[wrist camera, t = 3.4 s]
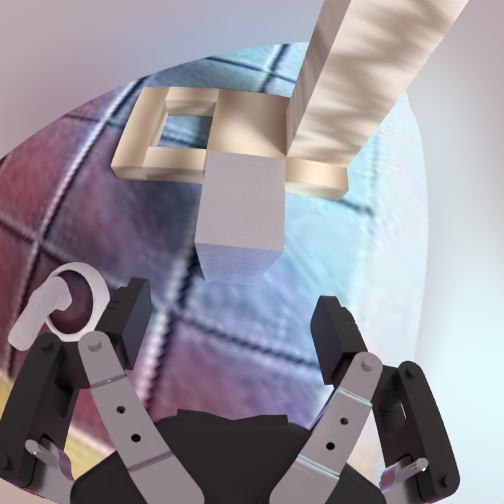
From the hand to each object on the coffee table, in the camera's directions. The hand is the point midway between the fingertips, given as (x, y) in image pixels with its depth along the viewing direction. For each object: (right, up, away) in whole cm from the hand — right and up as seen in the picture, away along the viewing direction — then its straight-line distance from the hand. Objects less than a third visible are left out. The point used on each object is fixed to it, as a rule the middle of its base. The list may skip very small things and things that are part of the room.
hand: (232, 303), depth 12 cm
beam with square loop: (-1, +14, +14) cm, 20 cm away
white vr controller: (-15, -2, +8) cm, 17 cm away
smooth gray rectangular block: (-1, +2, +11) cm, 11 cm away
